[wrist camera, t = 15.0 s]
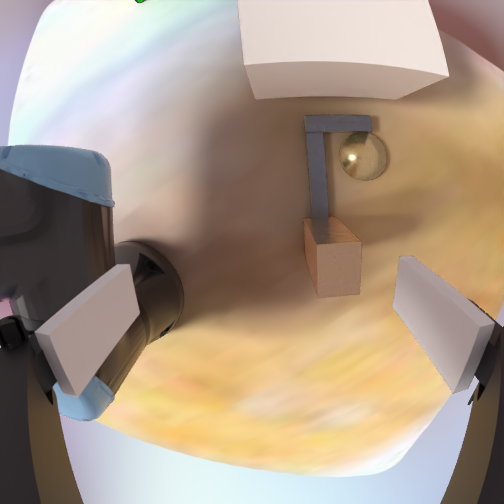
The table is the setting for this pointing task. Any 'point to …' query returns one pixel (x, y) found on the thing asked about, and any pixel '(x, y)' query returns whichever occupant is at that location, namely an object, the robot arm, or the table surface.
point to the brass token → (363, 156)
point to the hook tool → (320, 224)
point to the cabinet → (340, 47)
